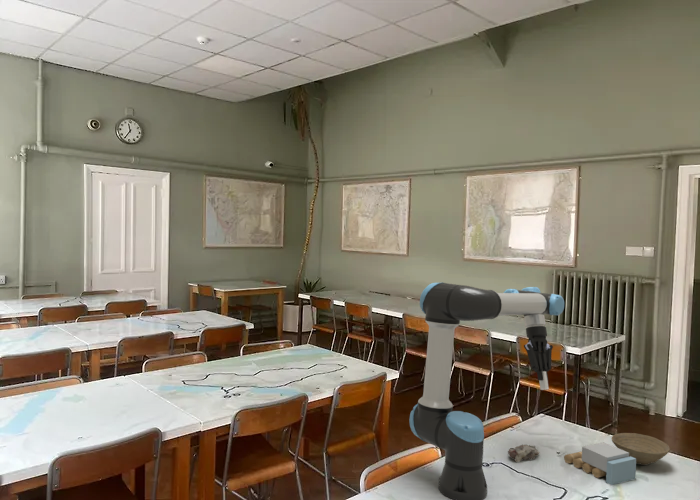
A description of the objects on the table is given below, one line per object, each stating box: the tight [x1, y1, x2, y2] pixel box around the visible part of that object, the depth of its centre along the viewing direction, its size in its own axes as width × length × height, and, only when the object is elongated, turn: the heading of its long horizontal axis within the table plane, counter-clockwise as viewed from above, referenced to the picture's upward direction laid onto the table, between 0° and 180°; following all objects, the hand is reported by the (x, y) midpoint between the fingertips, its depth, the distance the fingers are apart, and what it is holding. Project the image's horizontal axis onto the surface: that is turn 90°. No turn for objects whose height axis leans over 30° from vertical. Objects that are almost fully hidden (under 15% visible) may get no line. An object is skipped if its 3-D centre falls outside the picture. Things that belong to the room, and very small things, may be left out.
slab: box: [581, 441, 629, 472], centre depth 179 cm, size 11×10×5 cm
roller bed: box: [563, 451, 606, 478], centre depth 183 cm, size 12×15×3 cm
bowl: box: [611, 432, 671, 466], centre depth 188 cm, size 18×18×8 cm
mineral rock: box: [507, 444, 540, 463], centre depth 190 cm, size 15×8×4 cm, turn 109°
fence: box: [605, 456, 637, 486], centre depth 173 cm, size 12×2×7 cm, turn 115°
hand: (544, 389), depth 192 cm, fingers closed
